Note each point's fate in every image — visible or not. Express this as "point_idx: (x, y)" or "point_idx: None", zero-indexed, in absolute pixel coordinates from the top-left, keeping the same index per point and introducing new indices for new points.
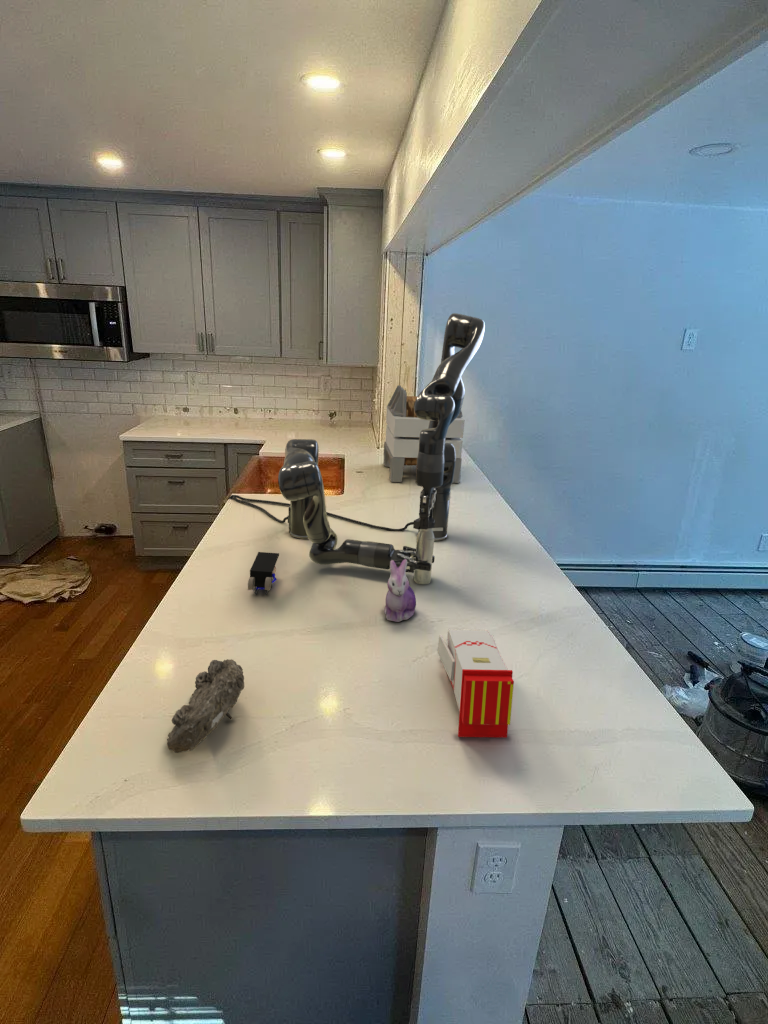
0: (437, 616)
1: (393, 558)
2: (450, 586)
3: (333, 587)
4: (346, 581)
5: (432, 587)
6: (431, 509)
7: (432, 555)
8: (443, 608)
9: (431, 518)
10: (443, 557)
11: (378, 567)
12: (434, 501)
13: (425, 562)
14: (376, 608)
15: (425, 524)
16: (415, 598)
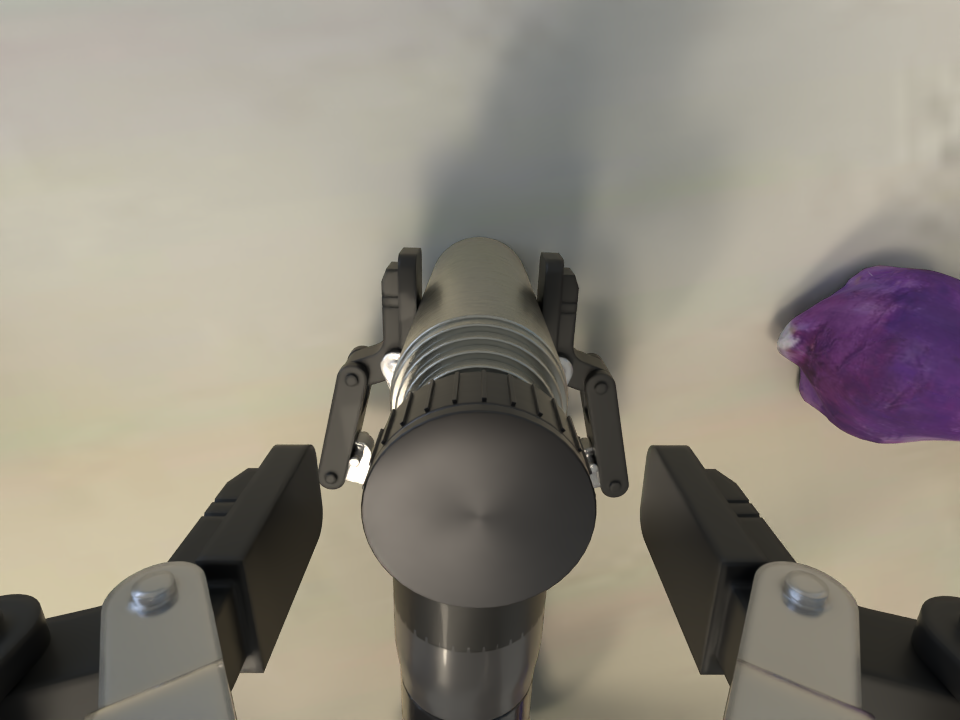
0: (891, 133)
1: None
2: (503, 102)
3: (658, 633)
4: (590, 604)
5: (546, 213)
6: (252, 561)
7: (485, 272)
8: (795, 110)
9: (407, 467)
10: (95, 204)
11: None
12: (228, 696)
13: (543, 305)
14: (827, 441)
15: (748, 514)
16: (932, 283)
